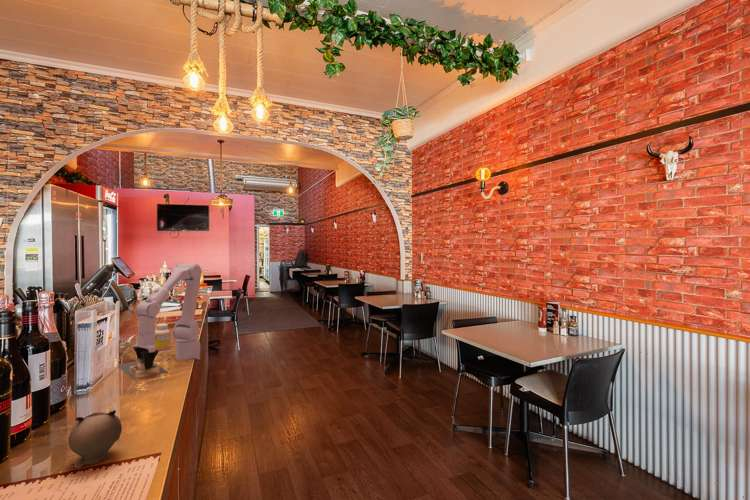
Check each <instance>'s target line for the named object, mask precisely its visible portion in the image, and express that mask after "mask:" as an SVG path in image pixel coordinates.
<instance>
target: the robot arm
mask: <svg viewBox="0 0 750 500" xmlns="http://www.w3.org/2000/svg"><path fill="white" fill-rule="evenodd" d="M202 271H203V269H202V268H201V266H200V265H199V264H197V263H195V264H194V263H184V262H183V263H182V262H178V263H177V264H175V266H174V267H173V268H172V272H171V274H170V276H168V278H167V279H166V281H165V282H164V283H163V285H162V286H161V287H160V286H159V287H156V288H154V289H153V291H152V293H151V294H150V295H149V296H148V297H147V298H146V299H145V300H144V301H142V302H139V303H138V304H137V306H136V307H135V309H134V313H135V315H136V319H137V330H138V340H137V339H136V343H135V344H133V347H132V349H133V350H134V352H135V354H136V355H135V356H136V359H137V358H142V357H143V360H144V367H145V369H151V368H152V365H153V362H154V361H155V359H156V357H157V355H158V353H159V351H158V350H155V330H156V322H155V320H156V318H157V315H158V314H159V313H160V311H161V308H162V305H163V304H164V303H165V302H166V301H167V299H168V298H169V296H170V291H172V289H174V288H175V286H177V285H178V283H179V282H181V281H182V282H184V283H185V284H186V287H185V291H184V292H185V293H184V297H183V304H182V309H181V315H180V316H181V317H180V319H178V320H176V321H175V323H174V327H173V329H172V333H171V334H172V337H173V338H174V340H175V341H176V343H175V360H177V361H187V360H191V359H195V360H201V357H200V356H201V341H200V339H199V338H198V336H199V333H200V330H199V327H200V326H199V323H198V321H196V320H195V316H196V315H195V314H196V309H197V304H198V303H197V302H198V296H199V290H200V283H201V278H202ZM154 363H155V362H154Z"/></svg>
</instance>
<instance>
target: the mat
mask: <svg viewBox="0 0 750 500" xmlns="http://www.w3.org/2000/svg"><path fill="white" fill-rule="evenodd" d="M153 363H154V364H155V365H157V366H158V367H160V373H159V374H156V375H151V376H147V377H142V378H138V379H136V378H135V377H133V376H132V375H131V374H130V367H132V366H137V360H136V361H131V362H125V363H120V364H116V366H117V367H118V368H119V369H120V370H122V372H124V373H125V374H126V375H127V376H129V377H130V379H132V380H133V381H135V380H139V379H144V378H149V377H153V376H158V375H162V374H165V375H163V376H166V374H167V373H169V372H168V371H167V370H166V369H164V368H162V366H160V365H158V363H156V362H153ZM154 378H157V377H154ZM147 380H148V379H145V381H147ZM137 382H139V381H136V383H137Z"/></svg>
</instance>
